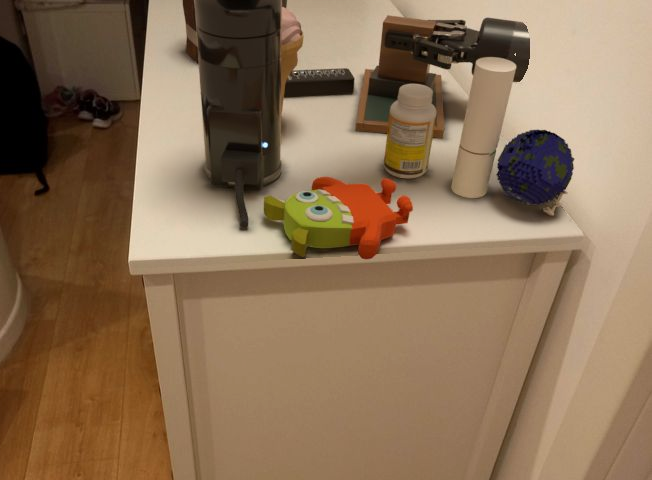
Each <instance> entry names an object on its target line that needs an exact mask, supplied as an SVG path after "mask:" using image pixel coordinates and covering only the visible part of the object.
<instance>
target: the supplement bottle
mask: <svg viewBox="0 0 652 480" xmlns="http://www.w3.org/2000/svg"><path fill="white" fill-rule="evenodd" d="M432 96H433V91H432V89H431V88H429V87H427V86H425V85H421V84H406V85H403V86H401V87H400V89H399V94H398V100H397V101H395V102H394V103H393V104H392V105H391V107H390V114H389V123H388V132H387V133H386V140H385V141H386V143H385V150H384V160H383V167H384V169H385V171H386V172H387V173H388V174H390V175H391V176H393V177H397V178H400V179H416V178H419V177H422V176H423V175H424V174H426V172H427V171H428V167H429V163H430V155H431V149H432V144H433V138H434V137H433V132H434V126H435V120H436V113H437V112H436V108H435V107H434V105H433V104H431V103H432Z"/></svg>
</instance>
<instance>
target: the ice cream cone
mask: <svg viewBox="0 0 652 480" xmlns="http://www.w3.org/2000/svg"><path fill="white" fill-rule="evenodd" d="M303 44H304V31H303V30H302V24H301V22H300V21H299V20H298V19H297V17H296V15H295V14H294V13H293V12H292V11H291V10H290V9H288V8H287V7H286V8H284V7H282V52H281V116H283V115H282V114H283V109H284V99H285V97H284V90H285V83H286V80H287V78H288V76H289V75H290V73H291V72H292V71H293V70H295V68H296V67H297V66H298V63H299V58H298V57H299V56H298V52H299V51H300V50H301V49H302V47H303Z"/></svg>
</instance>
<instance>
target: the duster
mask: <svg viewBox="0 0 652 480" xmlns="http://www.w3.org/2000/svg"><path fill="white" fill-rule="evenodd" d="M429 20H430V19H420V18H412V17H405V16H396V15H390V14H388V15H386V17H385V18H384V20H383V21H382V27H381V29H382V30H381V39H380V48H379V56H378V57H379V59H378V65H377V64H376V66H375V67H374V69H373V70H374V71H373V73H372V74H371V76H370V78H369V87H368V94H369V95H375V96H382V97H389V98H395V99H398V94H399V89H400V87H401V86H403V85H406V84H421V85H425V86H427V87H429V88H431V89H432V91H434V85H435V79H436V75H437V73H433V72H430V70H431V69H430V67H431V65H430V64H427V63H424V62H421V61H418V60H415V59H413V58H412V57H413V54H411V53H410V51H405V50H398V49H391V48H386V47H385V45H384V42H385V34H386V32H387V31H388V30H393V31H400V32H408V33H413V34H416V33H418V34H428V35H429V34H430V33H431V32H433V31H435V28H436V23H437V22H436V21H429ZM423 49H427V48H426V47H423Z"/></svg>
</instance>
